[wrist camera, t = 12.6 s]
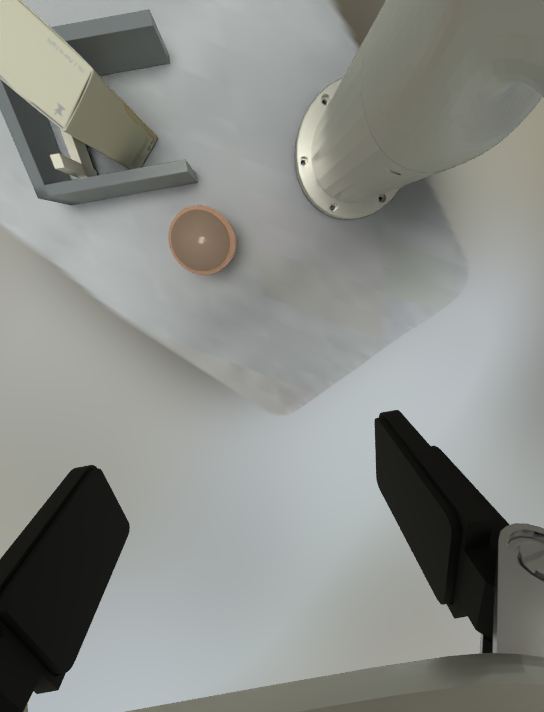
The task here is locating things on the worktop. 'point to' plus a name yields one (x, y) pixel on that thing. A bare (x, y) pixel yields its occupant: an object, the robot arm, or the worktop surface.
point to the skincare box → (67, 87)
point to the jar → (202, 240)
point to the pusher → (74, 159)
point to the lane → (106, 56)
